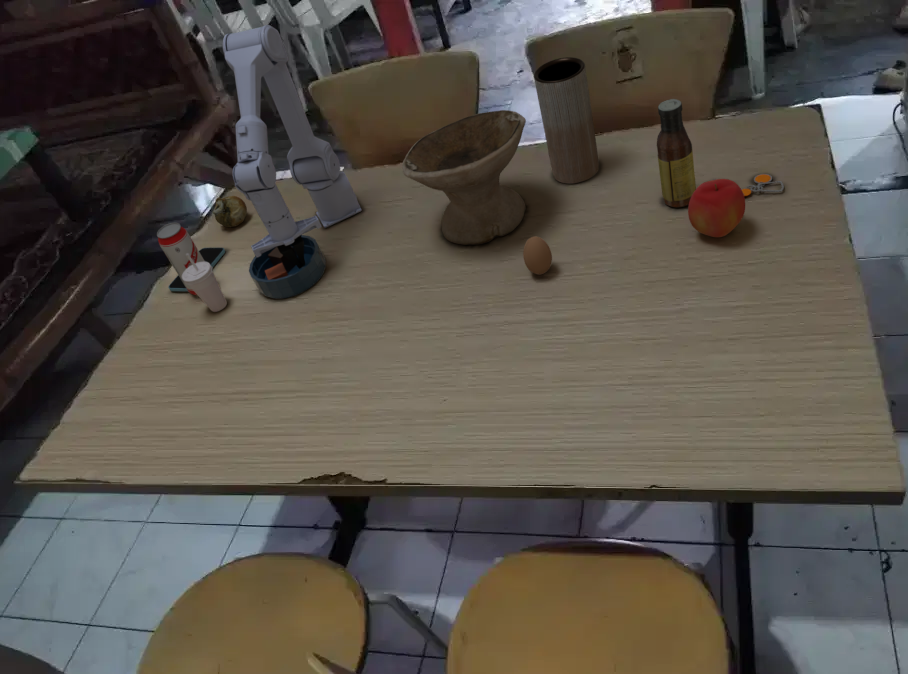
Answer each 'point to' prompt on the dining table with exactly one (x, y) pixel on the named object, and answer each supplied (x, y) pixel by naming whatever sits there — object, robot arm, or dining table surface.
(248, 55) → the robot arm
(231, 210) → the onion
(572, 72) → the planter
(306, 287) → the teal bowl
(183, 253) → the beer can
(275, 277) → the terracotta block
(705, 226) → the apple
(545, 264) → the egg
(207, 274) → the smoothie
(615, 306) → the dining table surface
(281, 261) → the walnut block
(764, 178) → the key chain
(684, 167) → the sauce bottle
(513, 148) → the bowl
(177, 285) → the smartphone
